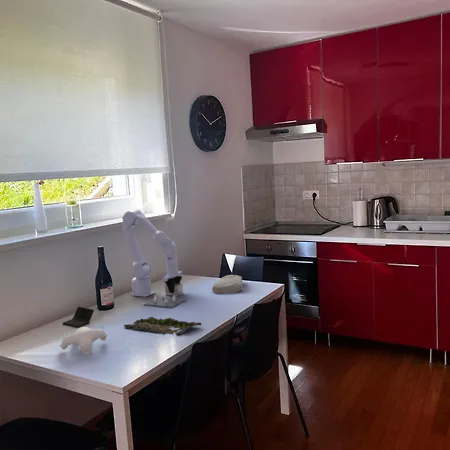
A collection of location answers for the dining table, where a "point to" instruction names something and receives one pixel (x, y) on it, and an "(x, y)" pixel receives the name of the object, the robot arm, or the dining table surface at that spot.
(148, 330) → the miniature landscape
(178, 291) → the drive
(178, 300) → the grey knobbed plate
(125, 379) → the dining table surface
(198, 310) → the dining table surface
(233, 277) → the stone
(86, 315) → the handheld gaming console
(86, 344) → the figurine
